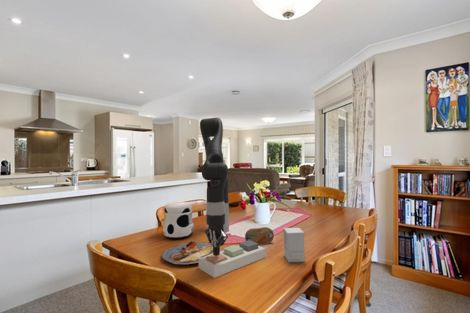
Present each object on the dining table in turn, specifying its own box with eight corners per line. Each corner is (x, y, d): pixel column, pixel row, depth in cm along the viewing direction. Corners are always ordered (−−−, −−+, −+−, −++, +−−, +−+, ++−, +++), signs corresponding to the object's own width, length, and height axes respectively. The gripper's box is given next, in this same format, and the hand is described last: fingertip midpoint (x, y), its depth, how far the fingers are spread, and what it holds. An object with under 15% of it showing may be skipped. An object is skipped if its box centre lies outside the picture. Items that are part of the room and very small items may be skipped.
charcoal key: (239, 249, 113) (239, 243, 113) (249, 246, 117) (248, 240, 117) (248, 253, 108) (248, 246, 108) (258, 250, 112) (258, 243, 112)
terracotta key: (206, 264, 101) (205, 256, 101) (218, 260, 105) (217, 253, 105) (214, 269, 96) (214, 261, 96) (226, 264, 100) (226, 257, 100)
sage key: (223, 255, 107) (223, 248, 107) (234, 251, 111) (234, 244, 111) (232, 259, 102) (232, 252, 102) (243, 255, 106) (243, 248, 106)
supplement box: (300, 255, 113) (299, 227, 113) (305, 262, 106) (304, 232, 106) (283, 255, 113) (283, 227, 113) (287, 262, 106) (287, 232, 106)
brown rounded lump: (246, 247, 125) (246, 230, 125) (244, 244, 128) (244, 228, 128) (274, 243, 129) (273, 227, 129) (271, 241, 132) (271, 225, 132)
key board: (198, 268, 102) (198, 258, 102) (248, 250, 120) (248, 242, 120) (214, 277, 93) (214, 267, 93) (265, 257, 111) (265, 248, 111)
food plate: (194, 242, 132) (194, 235, 132) (227, 253, 117) (227, 245, 117) (152, 259, 113) (151, 251, 112) (185, 274, 98) (185, 266, 98)
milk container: (160, 234, 148) (159, 203, 148) (189, 229, 155) (188, 200, 155) (166, 243, 132) (166, 209, 132) (198, 237, 140) (197, 205, 140)
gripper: (198, 211, 103) (199, 252, 103) (217, 216, 93) (218, 263, 93) (213, 208, 108) (214, 248, 108) (233, 213, 98) (234, 257, 98)
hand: (216, 255), depth 101 cm, fingers closed
